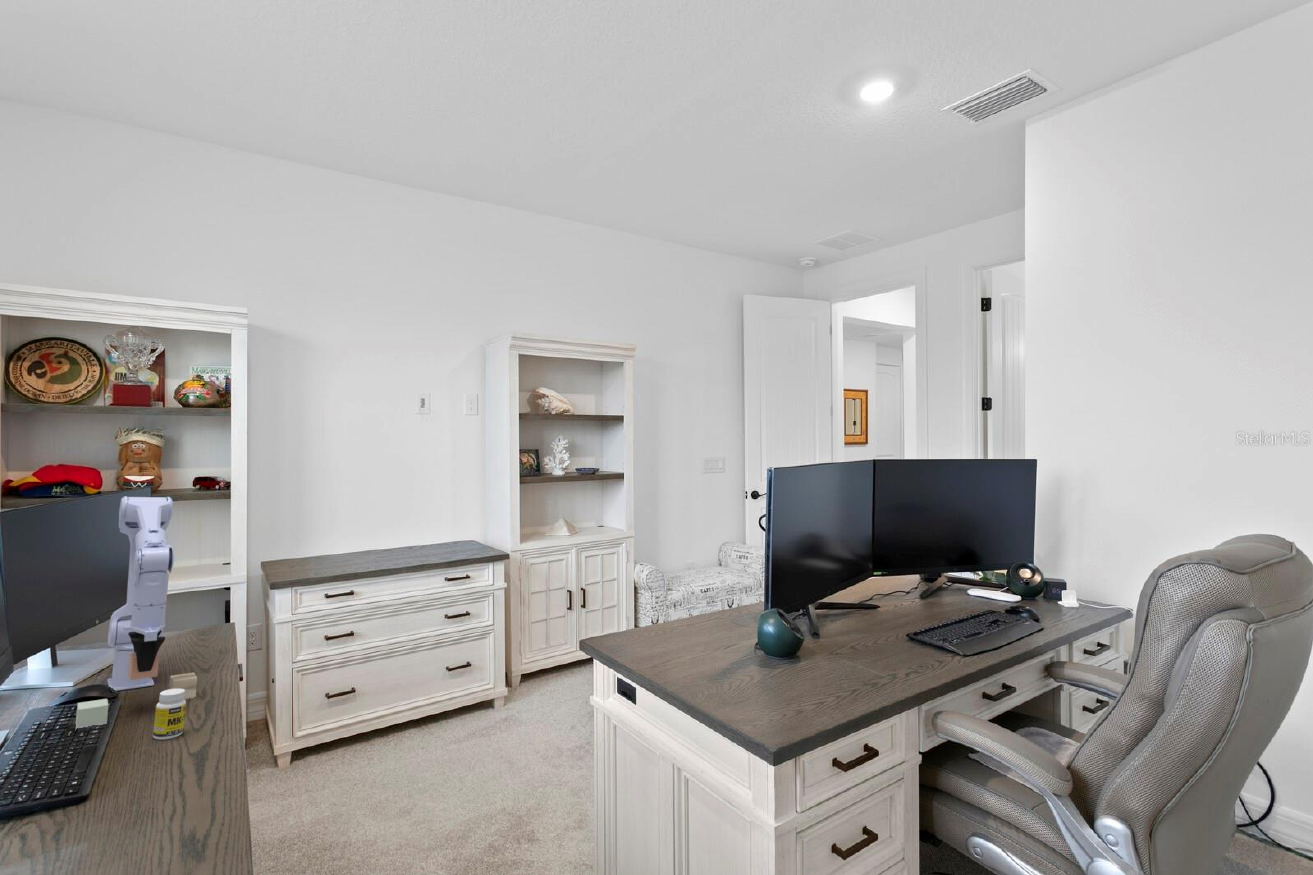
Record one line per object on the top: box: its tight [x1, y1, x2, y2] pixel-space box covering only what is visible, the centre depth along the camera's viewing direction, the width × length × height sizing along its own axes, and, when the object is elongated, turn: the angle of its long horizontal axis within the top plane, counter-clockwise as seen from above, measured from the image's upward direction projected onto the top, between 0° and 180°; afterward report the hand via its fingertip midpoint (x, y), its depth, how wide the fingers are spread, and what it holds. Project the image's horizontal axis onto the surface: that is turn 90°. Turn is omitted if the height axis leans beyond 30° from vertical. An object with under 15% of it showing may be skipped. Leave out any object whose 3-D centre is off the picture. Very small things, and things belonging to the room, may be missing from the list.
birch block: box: [168, 672, 198, 700], centre depth 147 cm, size 4×4×4 cm
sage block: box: [75, 698, 110, 730], centre depth 129 cm, size 4×4×4 cm
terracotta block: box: [128, 651, 160, 680], centre depth 139 cm, size 4×4×4 cm
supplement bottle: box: [152, 688, 187, 741], centre depth 127 cm, size 5×5×8 cm
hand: (143, 668), depth 139 cm, fingers closed on terracotta block, 4 cm apart
